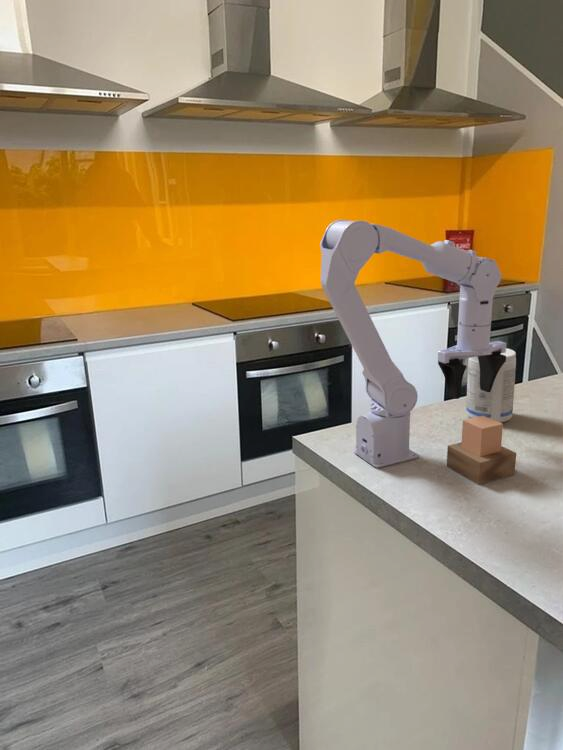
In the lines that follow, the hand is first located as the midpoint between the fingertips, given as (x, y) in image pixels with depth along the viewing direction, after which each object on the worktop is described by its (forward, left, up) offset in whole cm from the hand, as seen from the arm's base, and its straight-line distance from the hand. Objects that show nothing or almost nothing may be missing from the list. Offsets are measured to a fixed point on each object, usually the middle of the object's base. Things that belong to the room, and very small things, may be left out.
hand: (469, 394), depth 110 cm
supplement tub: (+14, +9, -10) cm, 20 cm away
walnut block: (-6, -10, -10) cm, 15 cm away
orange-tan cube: (-6, -10, -6) cm, 13 cm away
